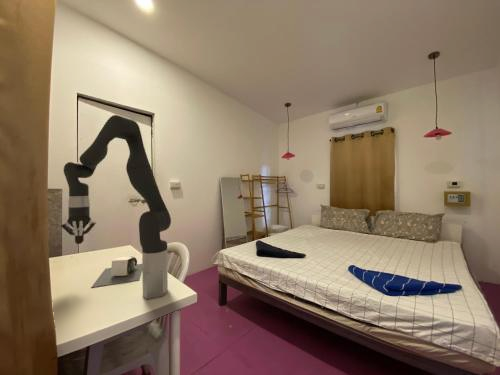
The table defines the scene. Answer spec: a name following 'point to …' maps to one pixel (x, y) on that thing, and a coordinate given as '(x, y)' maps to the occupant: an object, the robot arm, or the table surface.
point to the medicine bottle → (123, 266)
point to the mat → (117, 277)
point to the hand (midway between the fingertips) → (79, 243)
